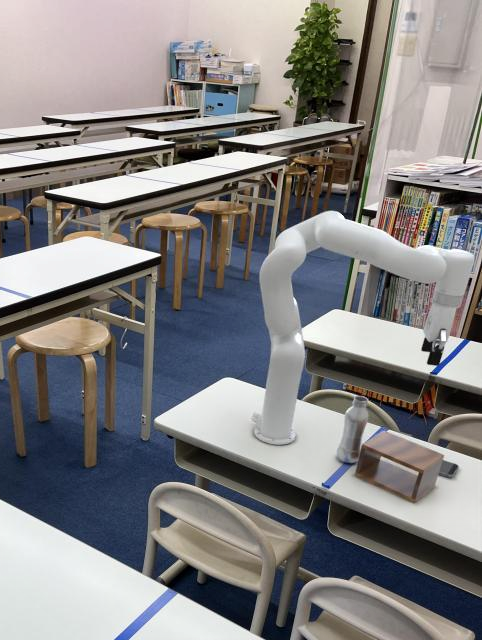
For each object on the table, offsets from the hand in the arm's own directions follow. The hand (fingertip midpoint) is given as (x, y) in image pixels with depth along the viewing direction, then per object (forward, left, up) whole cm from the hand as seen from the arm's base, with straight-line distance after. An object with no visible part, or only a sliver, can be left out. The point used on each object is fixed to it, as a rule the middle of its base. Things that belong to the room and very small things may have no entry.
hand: (429, 358), depth 194 cm
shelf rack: (+7, -19, -30) cm, 36 cm away
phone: (+9, -3, -30) cm, 31 cm away
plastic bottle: (-8, -19, -30) cm, 36 cm away
